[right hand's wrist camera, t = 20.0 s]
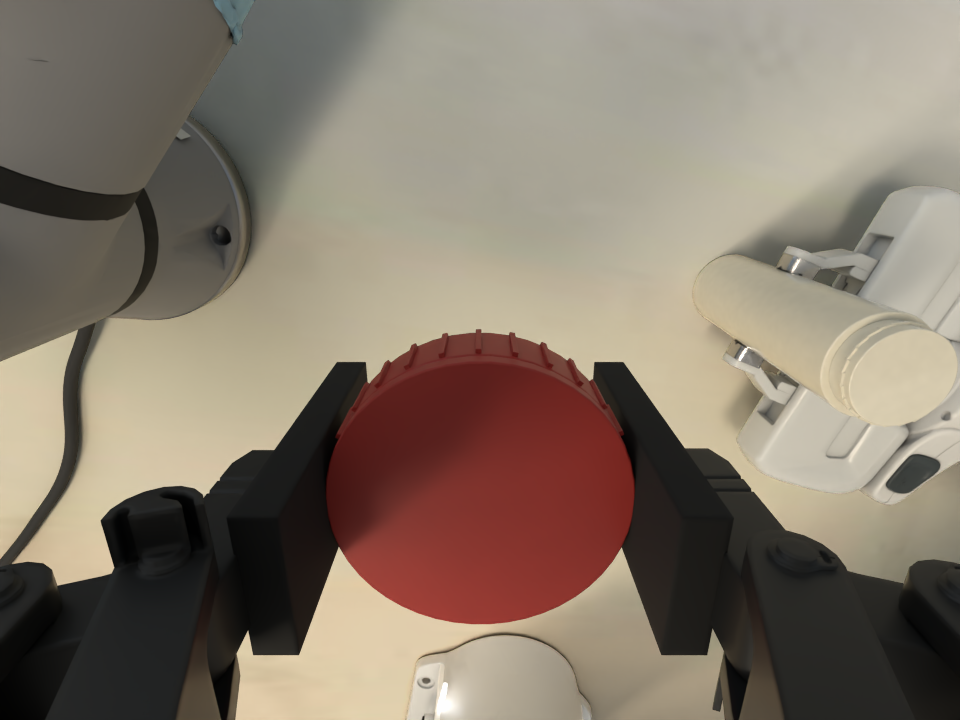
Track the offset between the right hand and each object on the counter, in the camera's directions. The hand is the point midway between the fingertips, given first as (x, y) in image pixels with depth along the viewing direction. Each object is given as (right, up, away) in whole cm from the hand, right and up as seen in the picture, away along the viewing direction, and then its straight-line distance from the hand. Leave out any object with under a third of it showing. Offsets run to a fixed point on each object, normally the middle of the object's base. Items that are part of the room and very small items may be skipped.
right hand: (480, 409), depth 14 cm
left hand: (+18, +5, +20) cm, 27 cm away
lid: (0, -1, -4) cm, 4 cm away
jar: (+19, +7, +26) cm, 33 cm away
